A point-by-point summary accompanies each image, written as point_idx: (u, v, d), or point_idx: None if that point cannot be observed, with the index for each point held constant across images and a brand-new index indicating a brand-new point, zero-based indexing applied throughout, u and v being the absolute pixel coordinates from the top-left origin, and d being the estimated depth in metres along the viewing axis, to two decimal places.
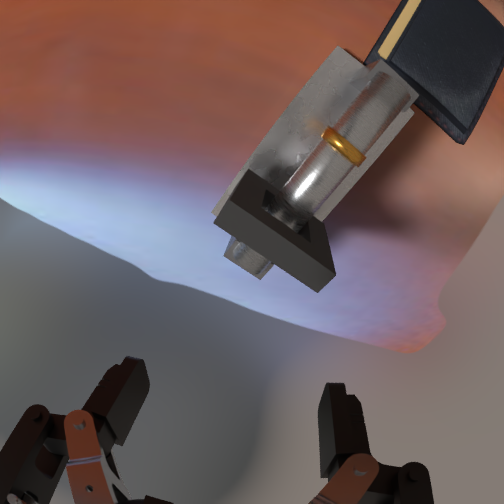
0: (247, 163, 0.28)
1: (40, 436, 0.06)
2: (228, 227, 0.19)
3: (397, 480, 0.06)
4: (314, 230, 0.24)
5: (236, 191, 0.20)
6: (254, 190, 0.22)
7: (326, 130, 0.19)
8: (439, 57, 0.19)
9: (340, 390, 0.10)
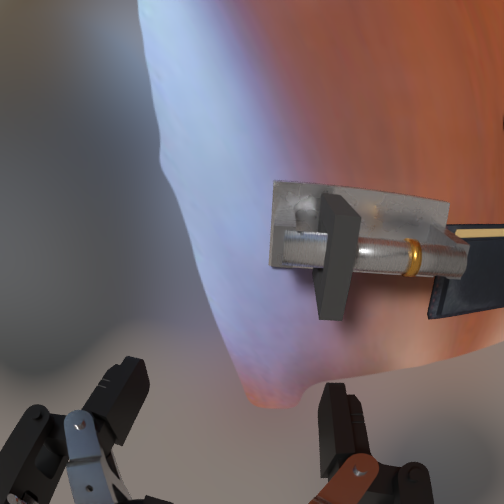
0: (334, 187, 0.30)
1: (40, 436, 0.06)
2: (338, 228, 0.20)
3: (397, 480, 0.06)
4: None
5: None
6: None
7: (415, 241, 0.24)
8: (474, 269, 0.31)
9: (340, 390, 0.10)
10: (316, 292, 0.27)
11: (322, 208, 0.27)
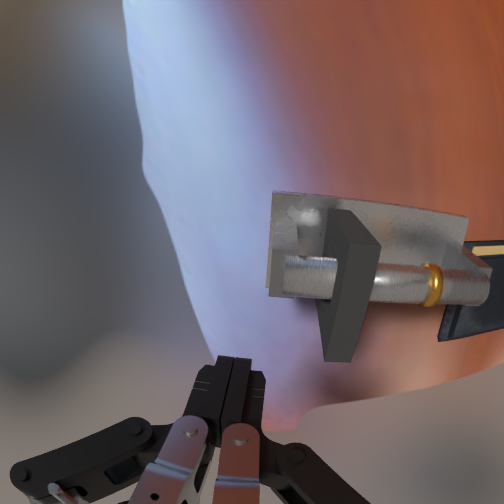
0: (343, 201, 0.26)
1: (126, 452, 0.07)
2: (352, 259, 0.16)
3: (281, 468, 0.07)
4: None
5: None
6: None
7: (436, 267, 0.20)
8: (490, 288, 0.27)
9: (244, 364, 0.11)
10: (321, 325, 0.23)
11: (330, 227, 0.23)
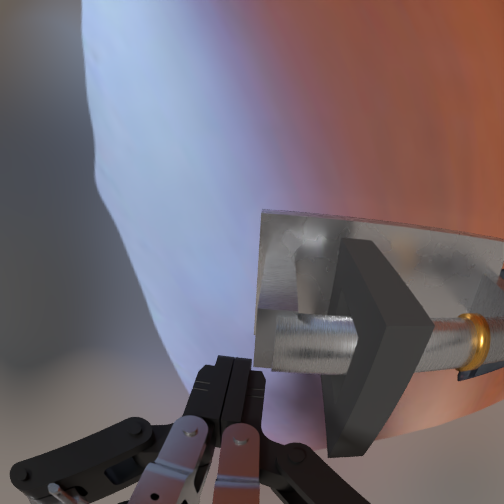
0: (360, 224, 0.19)
1: (126, 452, 0.07)
2: (387, 348, 0.09)
3: (281, 468, 0.07)
4: None
5: None
6: None
7: (483, 321, 0.13)
8: None
9: (244, 364, 0.11)
10: (325, 401, 0.15)
11: (344, 269, 0.15)
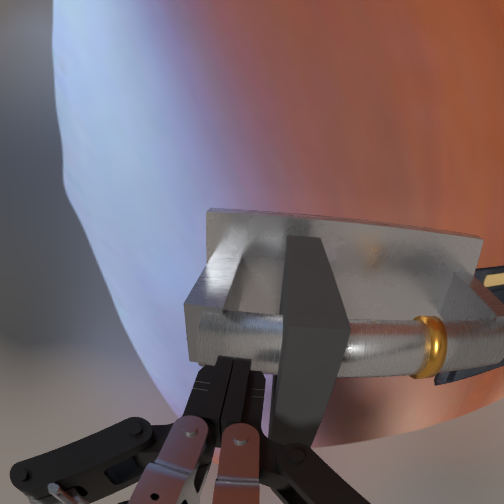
0: (307, 221, 0.19)
1: (126, 452, 0.07)
2: (295, 350, 0.09)
3: (281, 468, 0.07)
4: None
5: None
6: None
7: (439, 325, 0.13)
8: None
9: (244, 364, 0.11)
10: (271, 401, 0.15)
11: (285, 267, 0.16)
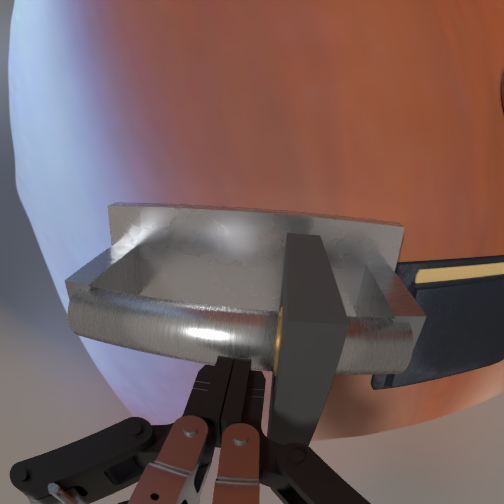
0: (188, 211, 0.20)
1: (126, 452, 0.07)
2: (294, 346, 0.09)
3: (281, 468, 0.07)
4: None
5: None
6: None
7: None
8: (448, 327, 0.21)
9: (244, 364, 0.11)
10: (270, 398, 0.16)
11: None
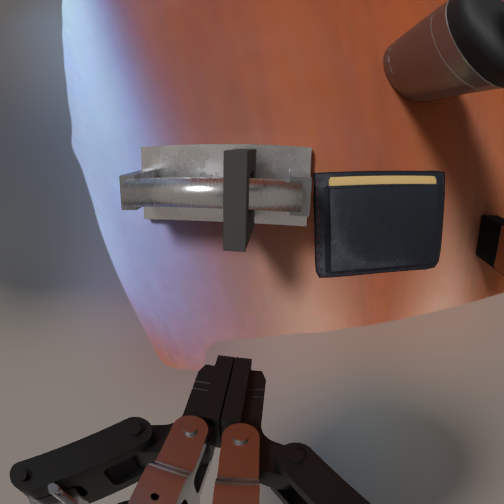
0: (188, 146, 0.34)
1: (126, 452, 0.07)
2: (227, 162, 0.24)
3: (281, 468, 0.07)
4: (251, 219, 0.31)
5: (249, 151, 0.25)
6: (252, 162, 0.28)
7: None
8: (363, 219, 0.35)
9: (244, 364, 0.11)
10: None
11: None
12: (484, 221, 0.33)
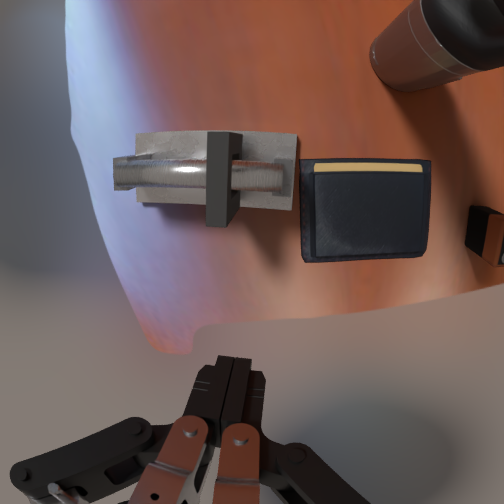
0: (179, 132, 0.35)
1: (127, 453, 0.07)
2: (210, 142, 0.25)
3: (281, 468, 0.07)
4: (235, 200, 0.32)
5: (233, 133, 0.26)
6: (236, 145, 0.29)
7: None
8: (347, 205, 0.36)
9: (244, 364, 0.11)
10: None
11: None
12: (472, 211, 0.34)
